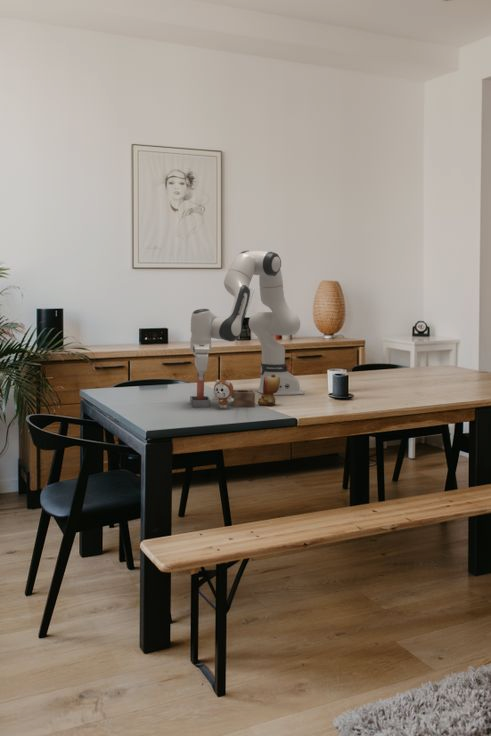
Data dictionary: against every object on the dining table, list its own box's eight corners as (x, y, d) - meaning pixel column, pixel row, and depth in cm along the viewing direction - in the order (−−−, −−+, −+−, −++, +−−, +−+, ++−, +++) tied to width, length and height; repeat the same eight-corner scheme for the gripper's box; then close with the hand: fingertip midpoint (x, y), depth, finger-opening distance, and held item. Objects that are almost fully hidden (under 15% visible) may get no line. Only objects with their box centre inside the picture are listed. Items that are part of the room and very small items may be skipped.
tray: (208, 402, 304) (208, 396, 303) (210, 407, 293) (210, 400, 292) (189, 402, 302) (189, 396, 302) (191, 407, 292) (191, 400, 291)
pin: (203, 402, 299) (204, 373, 298) (203, 404, 296) (204, 374, 295) (196, 402, 299) (197, 373, 297) (196, 404, 296) (197, 374, 294)
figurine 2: (255, 402, 306) (264, 370, 305) (272, 406, 307) (280, 374, 306) (258, 406, 296) (267, 373, 295) (274, 410, 297) (284, 377, 296)
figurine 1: (207, 409, 288) (208, 380, 287) (217, 405, 296) (217, 378, 295) (227, 411, 284) (228, 382, 283) (236, 407, 292) (237, 379, 291)
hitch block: (251, 403, 304) (251, 389, 304) (254, 406, 295) (255, 393, 295) (231, 403, 303) (231, 389, 302) (233, 407, 294) (234, 393, 293)
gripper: (191, 345, 304) (191, 376, 306) (194, 349, 284) (194, 382, 286) (206, 345, 305) (205, 376, 307) (210, 349, 285) (209, 382, 287)
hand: (200, 379), depth 296 cm, fingers open, 4 cm apart
